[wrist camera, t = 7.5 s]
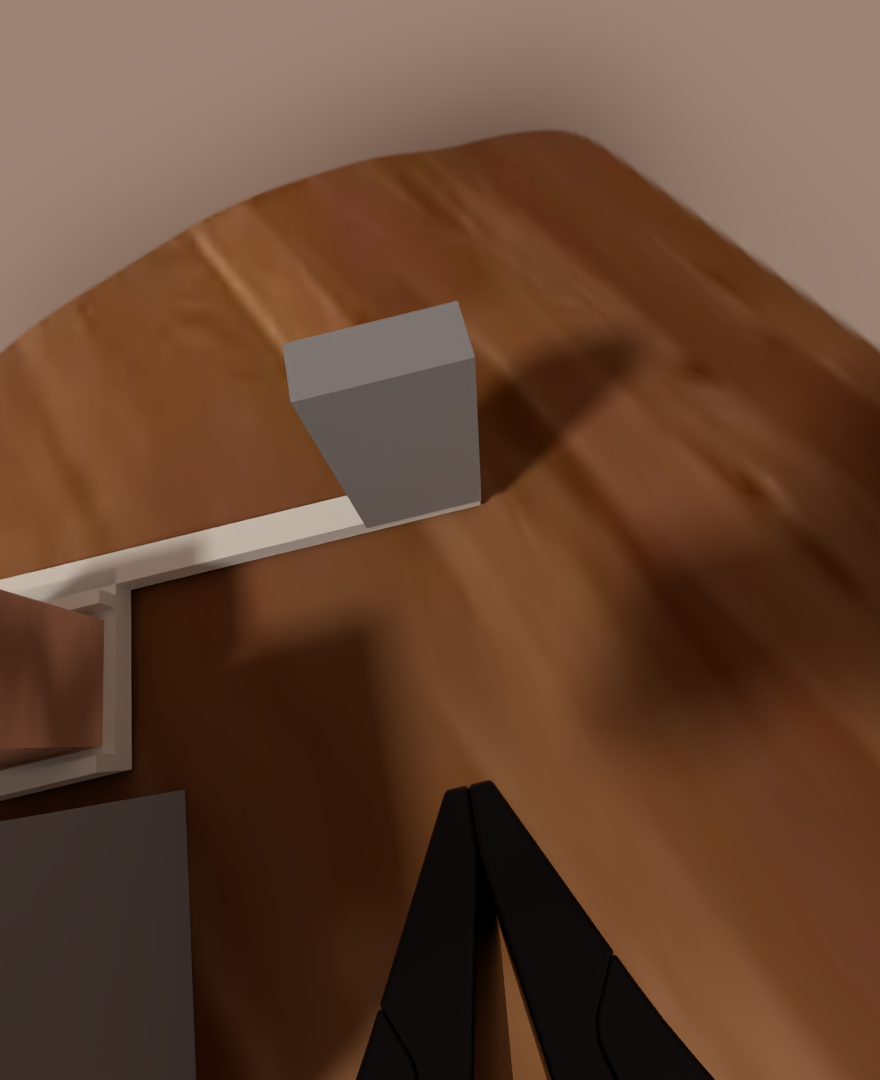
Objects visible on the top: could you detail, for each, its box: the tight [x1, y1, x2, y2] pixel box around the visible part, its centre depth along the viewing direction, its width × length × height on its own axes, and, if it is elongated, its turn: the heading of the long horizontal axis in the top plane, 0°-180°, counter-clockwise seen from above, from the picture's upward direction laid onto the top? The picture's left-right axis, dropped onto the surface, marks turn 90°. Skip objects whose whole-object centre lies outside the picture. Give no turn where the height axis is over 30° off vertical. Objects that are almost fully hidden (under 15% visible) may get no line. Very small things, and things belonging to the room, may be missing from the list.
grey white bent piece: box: [0, 301, 481, 801], centre depth 18 cm, size 9×22×10 cm, turn 103°
